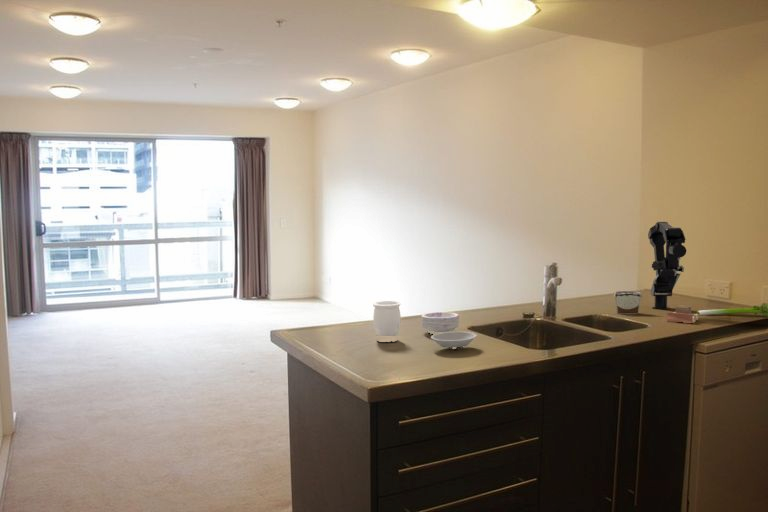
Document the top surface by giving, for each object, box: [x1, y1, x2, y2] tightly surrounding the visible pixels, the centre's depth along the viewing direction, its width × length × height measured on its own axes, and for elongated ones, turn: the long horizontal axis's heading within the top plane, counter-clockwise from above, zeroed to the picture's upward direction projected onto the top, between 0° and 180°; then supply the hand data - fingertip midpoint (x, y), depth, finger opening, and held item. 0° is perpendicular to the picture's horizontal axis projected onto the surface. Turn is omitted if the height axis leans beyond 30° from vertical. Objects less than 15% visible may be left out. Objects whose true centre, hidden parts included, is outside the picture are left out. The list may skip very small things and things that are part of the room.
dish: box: [430, 331, 478, 349], centre depth 223 cm, size 18×14×5 cm
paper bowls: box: [421, 311, 460, 332], centre depth 250 cm, size 15×15×8 cm
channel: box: [666, 311, 699, 324], centre depth 266 cm, size 11×10×4 cm
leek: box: [696, 302, 768, 318], centre depth 275 cm, size 6×7×30 cm
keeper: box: [675, 305, 692, 314], centre depth 268 cm, size 5×5×6 cm
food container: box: [613, 290, 643, 315], centre depth 287 cm, size 12×6×10 cm, turn 84°
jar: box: [372, 300, 402, 336], centre depth 238 cm, size 11×10×15 cm
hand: (671, 289), depth 280 cm, fingers closed
